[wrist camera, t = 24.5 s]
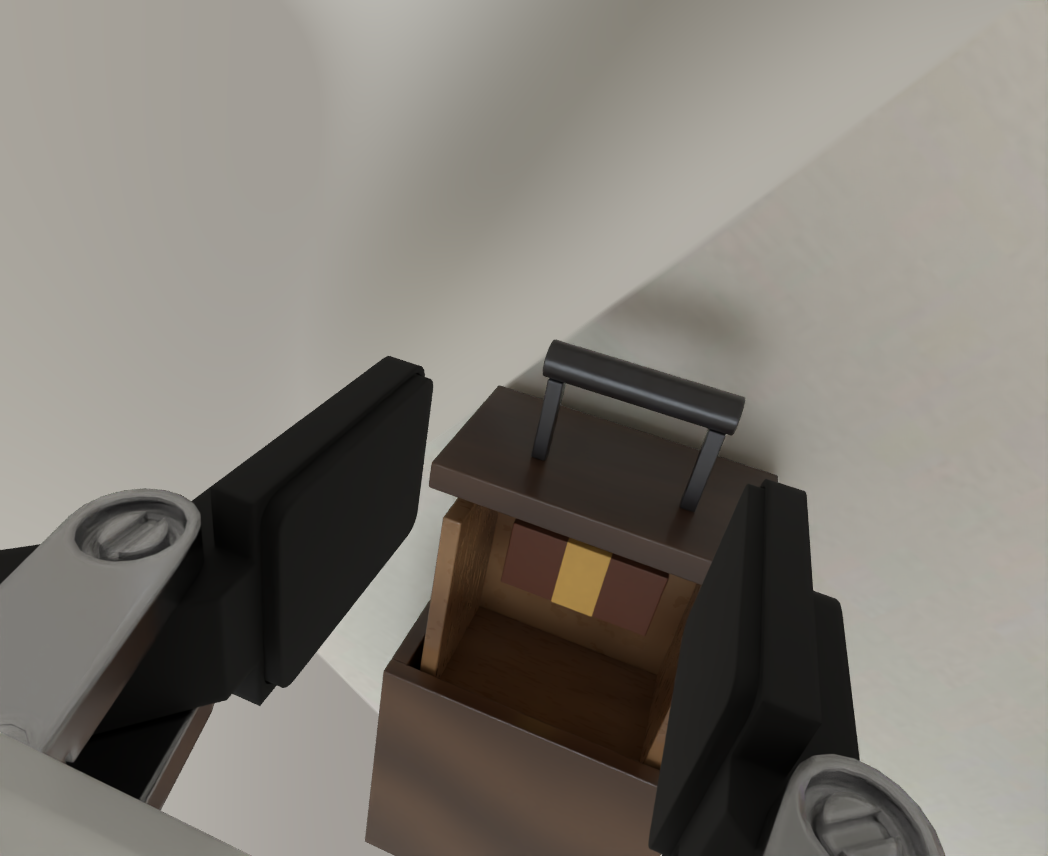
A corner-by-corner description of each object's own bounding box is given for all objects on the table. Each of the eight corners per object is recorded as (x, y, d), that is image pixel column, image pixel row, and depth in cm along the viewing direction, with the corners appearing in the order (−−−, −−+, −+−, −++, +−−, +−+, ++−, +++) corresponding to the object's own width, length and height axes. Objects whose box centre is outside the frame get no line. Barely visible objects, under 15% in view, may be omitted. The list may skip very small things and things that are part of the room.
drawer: (517, 283, 29) (447, 342, 23) (825, 374, 26) (839, 467, 20) (460, 592, 38) (400, 693, 32) (683, 679, 36) (664, 805, 30)
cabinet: (462, 549, 38) (383, 671, 30) (709, 642, 35) (691, 800, 28) (433, 711, 45) (364, 841, 38) (635, 797, 43) (605, 956, 35)
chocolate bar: (532, 488, 32) (513, 522, 30) (677, 539, 31) (668, 578, 28) (519, 546, 34) (499, 582, 32) (654, 596, 33) (645, 637, 30)
